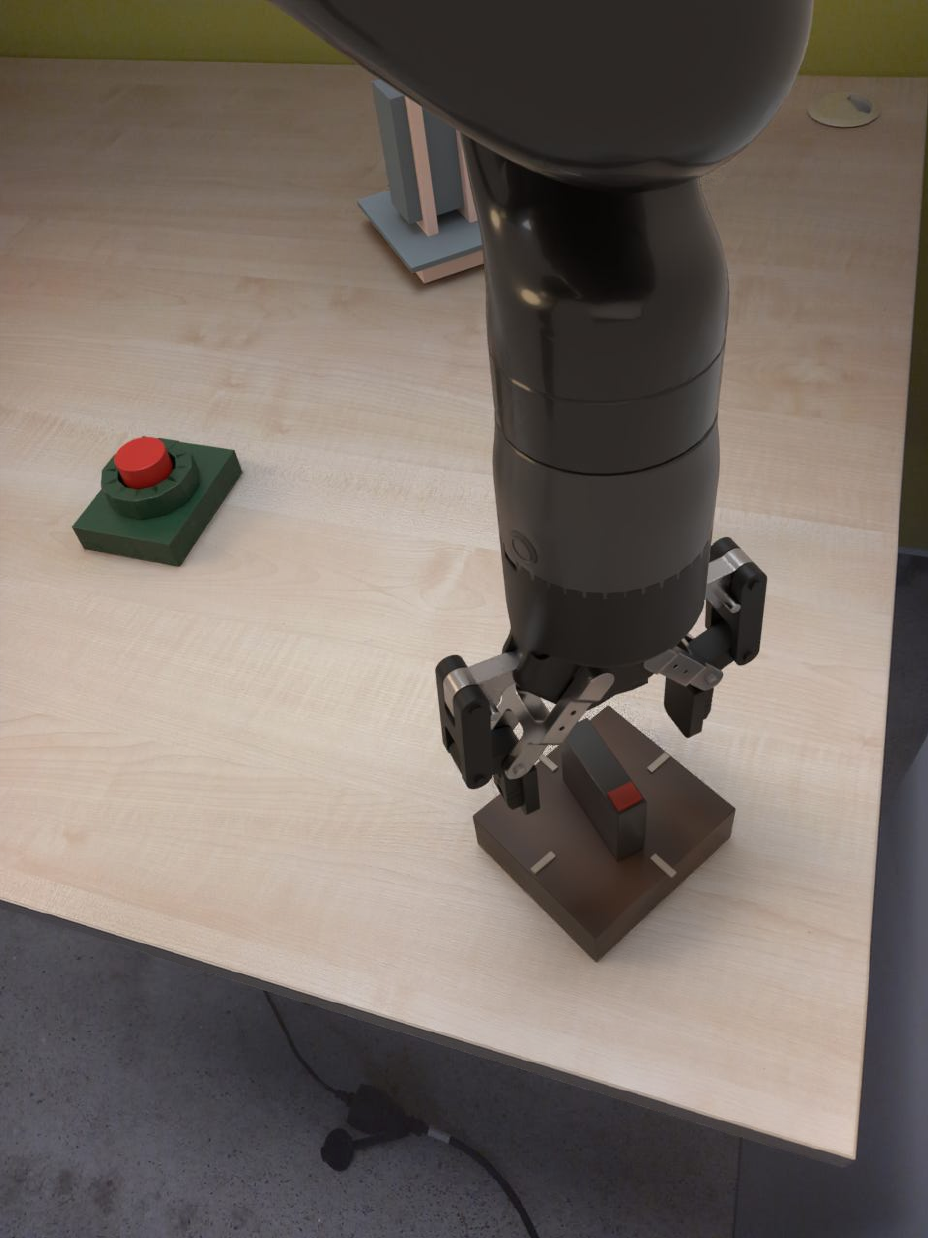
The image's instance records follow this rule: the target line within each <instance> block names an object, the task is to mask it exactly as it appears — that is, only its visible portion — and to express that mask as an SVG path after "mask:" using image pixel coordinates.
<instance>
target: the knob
mask: <svg viewBox="0 0 928 1238" xmlns="http://www.w3.org/2000/svg"><path fill="white" fill-rule="evenodd" d="M589 720H590V719H589V718H588V717H585V718H582V719H580V720H579V721H578V722H577V724H576V725H575V726H574V728H573V729H572V730H571V732H570V733H569V734H568V736H567V737H566V739H565V740H564V741H563V742H562V743H561V758H562V774H563V779H564V781H565V782H566V784H567V785H568V787H569V788H570V790H571V791H572V793H573V794H574V796H575V797H576V799H577V801H578V802H579V804H580V805H581V807H582V808H583V810H584V811H585V813H586V814H587V816H588V817H589V819H590V820H591V822H592V823H593V825H594V826H595V828H596V830H597V831H598V833H599V834H600V836H601V837H602V839H603V840H604V842H605V843H606V845H607V846H608V848H609V849H610V851H611V852H612V854H613V855H614V857H615V859H616V860H617V861H619V860H621V859H623V858H624V857H626V856H628V855H630V854H632V853H634V852H636V851H638V850H640V849H642V848H644V846H645V829H646V812H647V801H646V800H645V798H644V797H643V795H642V794H641V792H640V791H639V790H638V788H637V787H636V785H635V784H634V783H633V781H632V780H631V778H630V777H629V776H628V774H627V773H626V771H625V770H624V769H623V767H622V766H621V764H620V763H619V761H618V760H617V759H616V757H615V756H614V754H613V753H612V752H611V750H610V749H609V747H608V746H607V745H606V743H605V742H604V740H603V739H602V737H601V736H600V735H599V733H598V732H597V730H596V729H595V728H594V726H593V725H592V723H591V722H590V721H589Z"/></svg>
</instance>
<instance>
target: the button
mask: <svg viewBox="0 0 928 1238" xmlns="http://www.w3.org/2000/svg"><path fill="white" fill-rule="evenodd" d="M157 438H158V437H154V436H146V437H142V436H140V437H137V438H134V439H132V440H129V441H127V442H125V443H124V444H123V445H121V446H120V447H119V448H118V450H117V451H116V453H114V454H115V458H114V462H115V465H116V467H117V469H118V471H119V473H120V475H121V477H122V479H123V481H124V483H125V484H126V485H127V486H129V487H131V488H134V489H144V488H149V487H153V486H155V485H157V484H159V483H160V482H162V481H164V480H165V479H167V478H168V477H169V475H170V474H171V472H172V468H173V464H172V461H171V459H170V457H169V454H168V452H167V450H166V447H165V445H164V443H163V442H162V441H161V440H159V439H157Z"/></svg>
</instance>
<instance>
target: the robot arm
mask: <svg viewBox="0 0 928 1238" xmlns="http://www.w3.org/2000/svg"><path fill="white" fill-rule="evenodd" d="M265 1H266V2H267V3H269V4H271V5H272V6H273V7H275V8H276V9H278V10H280V11H281V12H283V14H286V15H287V16H289V17H290V18H291V19H293V20H294V21H296V22H297V23H298V24H300V25H301V26H303V27H304V28H305V29H307V30H308V31H309V32H311V34H313V35H315V36H316V37H317V38H319V40H322V41H323V42H324V43H325V44H327V45H328V46H329V47H331V48H332V49H334V50H335V51H336V52H338V53H339V54H340V55H342V56H344V57H345V58H347V59H348V60H350V61H351V62H353V63H354V64H355V65H357V66H359V67H360V68H362V69H363V70H365V71H367V72H368V73H369V74H371V75H372V76H374V77H375V78H377V79H380V80H381V81H383V82H384V83H386V84H388V85H389V86H391V87H392V88H394V89H395V90H397V91H398V92H400V93H401V94H403V95H404V96H406V97H407V98H409V99H410V100H412V101H413V102H415V103H416V104H418V105H419V106H421V107H422V108H424V109H425V110H427V111H428V112H430V113H431V114H433V115H435V116H436V117H438V118H439V119H441V120H442V121H444V122H446V123H447V124H449V125H450V126H452V127H453V128H455V129H457V130H458V131H459V132H460V137H461V142H462V147H463V152H464V158H465V163H466V168H467V173H468V178H469V183H470V188H471V193H472V197H473V201H474V206H475V210H476V215H477V219H478V224H479V229H480V234H481V242H482V251H483V260H484V264H483V269H484V282H485V321H486V322H485V323H486V342H487V351H488V361H489V362H488V363H489V371H490V383H491V393H492V402H493V414H494V430H493V431H494V432H493V444H492V459H491V460H492V463H491V465H492V478H493V488H494V489H493V491H494V498H495V499H494V500H495V507H496V509H495V510H496V518H497V529H498V537H499V546H500V556H501V566H502V575H503V585H504V594H505V603H506V608H507V614H508V619H509V625H510V628H509V633H508V635H507V638H506V640H505V642H504V643H503V646H502V649H501V653H500V654H498V655H495V656H492V657H490V658H488V659H484V660H482V661H480V662H477V663H475V664H471V665H469V666H468V664H467V663H466V662H465V660H464V658H463V657H462V656H461V655H459V654H451V655H448V656H446V657H444V658H442V659H441V660H440V661H439V662H438V663H437V664H436V666H435V668H434V669H435V670H434V673H435V681H436V682H435V683H436V692H437V700H438V710H439V719H440V731H441V739H442V744H443V746H444V748H445V749H446V752H447V753H448V754H449V755H450V757H451V758H452V760H453V762H454V764H455V766H456V767H457V769H458V770H459V773H460V775H461V778H462V780H463V782H464V785H465V786H466V787H467V789H469V790H478V789H480V788H481V789H482V788H483V787H485V786H486V785H487V784H489V783H490V782H491V781H492V779H493V783H494V785H495V787H496V788H497V790H498V792H499V794H501V795H502V797H503V799H504V801H505V802H506V804H507V806H508V807H509V808H510V809H512V810H514V809H516V808H519V807H520V808H521V809H522V811H523V812H524V814H525V815H528V814H530V813H532V812H534V811H536V810H539V809H540V799H539V788H538V777H537V769H536V767H535V764H536V763H537V761H538V760H539V759H538V758H539V757H540V756H541V754H542V753H543V754H544V752H545V750H546V749H547V747H549V746H559V745H560V744H561V743H562V742H563V741H564V740H565V739H566V737H567V736H568V734H569V733H570V732H571V730H572V729H573V728H574V726H575V725H576V724H577V722H579V721H581V719H582V717H583V716H584V714H585V713H586V712H588V711H590V710H592V709H595V708H597V707H599V706H601V705H603V704H604V703H605V702H608V700H610V699H612V698H613V697H615V696H617V695H620V694H624V693H627V692H632V691H634V690H636V689H637V688H638V689H639V688H641V687H642V686H645V685H647V684H649V678H651V677H653V675H657V676H658V675H661V676H664V677H665V681H664V693H663V707H664V710H665V712H666V714H667V715H668V718H669V719H670V720H671V721H672V722H673V723H674V725H675V726H676V728H677V729H678V731H680V733H681V734H682V735H683V737H685V738H686V739H690V738H692V737H694V736H696V735H697V734H700V733H702V731H703V724H704V721H705V720H707V718H708V717H709V715H710V713H711V711H712V706H713V704H712V703H713V698H714V697H713V696H714V691H715V687H716V686H717V685H719V684H720V683H721V682H722V680H723V678H724V671H722V670H723V669H725V668H726V667H727V666H730V665H731V664H732V663H733V662H734V663H735V664H736V665H737V666H739V667H740V666H741V667H742V666H746V665H748V664H749V663H751V662H752V661H754V660H755V659H756V658H757V656H758V655H759V653H760V649H761V641H762V633H763V632H762V630H763V623H764V614H765V604H766V603H765V602H766V596H767V585H768V576H767V574H766V573H765V572H764V571H763V570H762V569H761V568H760V567H759V566H758V565H757V564H756V563H755V561H754V560H753V559H752V558H751V557H750V556H749V555H748V554H747V553H746V552H745V551H744V550H743V549H742V548H741V547H740V546H739V545H738V544H737V543H736V542H735V541H734V540H733V539H732V537H730V536H723V537H720V538H719V539H717V540H715V542H713V543H712V540H713V533H714V532H713V531H714V523H715V516H716V515H715V514H716V507H717V506H716V505H717V500H718V499H717V497H718V490H719V481H720V471H721V469H720V467H721V448H720V447H721V446H720V445H721V443H720V430H719V408H720V407H719V406H720V398H721V389H722V381H723V380H722V379H723V373H724V363H725V352H726V344H727V335H728V334H727V333H728V322H729V313H730V280H729V269H728V263H727V259H726V255H725V250H724V246H723V243H722V240H721V237H720V234H719V232H718V230H717V227H716V225H715V222H714V220H713V217H712V215H711V213H710V210H709V208H708V203H707V202H706V199H705V196H704V193H703V188H702V185H701V181H700V178H702V177H704V176H706V175H708V174H710V173H712V172H714V171H716V170H717V169H719V168H720V167H722V166H723V165H725V164H727V163H728V162H730V161H731V160H732V159H734V158H735V157H737V156H738V155H739V154H740V153H741V152H743V151H744V150H746V148H747V147H748V146H749V145H750V144H752V143H753V141H755V140H756V139H757V138H758V136H760V135H761V133H762V132H763V131H764V130H765V129H766V128H767V126H768V125H769V124H770V123H771V121H772V120H773V119H774V118H775V116H776V115H777V114H778V112H779V111H780V109H781V107H782V106H783V104H784V102H785V101H786V99H787V98H788V96H789V94H790V92H791V90H792V88H793V86H794V83H795V82H796V80H797V77H798V75H799V72H800V70H801V67H802V64H803V61H804V58H805V55H806V51H807V49H808V44H809V40H810V34H811V30H812V25H813V16H814V15H813V14H814V3H815V0H265ZM704 607H705V612H704V613H705V614H704V615H705V616H704V627H705V630H704V631H703V632H701V633H699V634H697V636H695V637H694V636H693V635H692V634H691V633H690V632H691V631H692V629H693V628H694V627H695V625H696V624H697V622H698V620H699V618H700V616H701V614H702V612H703V610H704ZM544 701H547V702H549V703H551V704H553V705H554V706H553V708H552V709H551V710H549V708H548V707H547V705H546V704H545V703H544ZM519 724H520V726H521V728H522V735H521V736H520V738H519V737H518V736H517V734H516V733H515V731H514V730H515V729H516V728H517V726H518V725H519Z"/></svg>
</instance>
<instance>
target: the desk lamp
mask: <svg viewBox="0 0 928 1238" xmlns="http://www.w3.org/2000/svg"><path fill="white" fill-rule="evenodd" d="M370 82H371V83H370V84H371V89H372V94H373V100H374V107H375V111H376V119H377V124H378V129H379V136H380V140H381V141H380V142H381V148H382V152H383V159H384V164H385V172H386V177H387V182H388V189H387V190H384V191H381V192H377V193H374V194H371V195H368V196H365V197H361V198H359V199H356V205H357V207H358V208H359V209H360V210H361V212H362V213H363V214H364V216H366V218H367V219H368V220H369V222H370V223H371V224H372V225H373V227H374V228H375V229H376V230H377V231H378V233H379V234H380V236H381V237H382V238H383V239H384V240H385V242H387V244H388V246H390V248H391V249H392V250H393V252H394V253H395V254H396V256H398V259H400V261H402V262H403V264H404V265H405V267H406V268H407V269H408V270H409V272H410V273H411V274H416V275H417V276H418V278H419V279H420V280H421V281H422V283H423V284H428V283H430V282H434V281H437V280H439V279H442V278H445V277H448V276H451V275H454V274H457V273H459V272H463V271H465V270H468V269H472V268H475V267H478V266H480V265H484V260H483V251H482V242H481V234H480V229H479V224H478V219H477V215H476V210H475V206H474V201H473V197H472V193H471V188H470V183H469V178H468V173H467V168H466V163H465V158H464V152H463V147H462V142H461V137H460V132H459V131H458V130H457V129H455V128H453V127H452V126H450V125H449V124H447V123H446V122H444V121H442V120H441V119H439V118H438V117H436V116H435V115H433V114H431V113H430V112H428V111H427V110H425V109H424V108H422V107H421V106H419V105H418V104H416V103H415V102H413V101H412V100H410V99H409V98H407V97H406V96H404V95H403V94H401V93H400V92H398V91H397V90H395V89H394V88H392V87H391V86H389V85H388V84H386V83H384V82H383V81H381V80H380V79H378V78H377V79H373V80H371V81H370Z"/></svg>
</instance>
